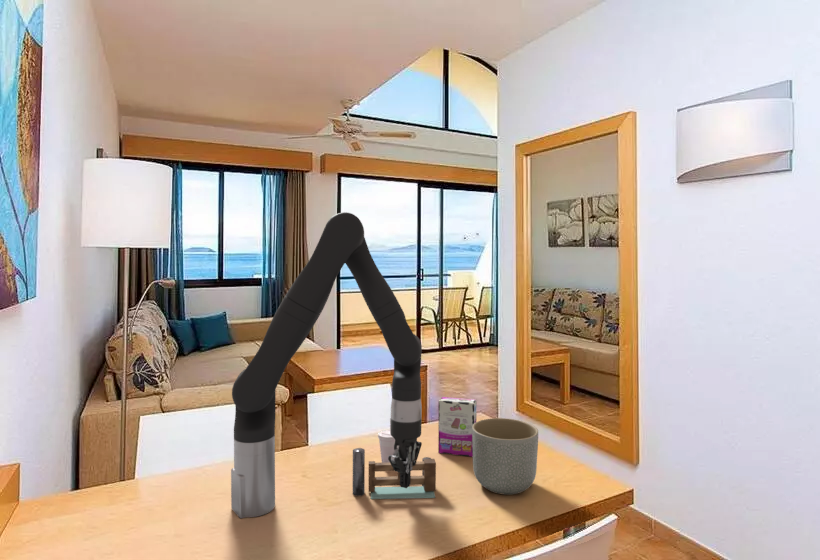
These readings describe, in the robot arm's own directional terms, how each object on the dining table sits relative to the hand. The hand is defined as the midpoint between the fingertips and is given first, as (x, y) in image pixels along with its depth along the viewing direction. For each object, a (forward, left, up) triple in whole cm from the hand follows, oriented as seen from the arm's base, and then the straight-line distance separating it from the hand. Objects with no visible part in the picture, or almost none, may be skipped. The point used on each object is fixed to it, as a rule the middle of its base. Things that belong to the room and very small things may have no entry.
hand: (405, 486), depth 122 cm
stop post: (+10, +3, -4) cm, 11 cm away
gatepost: (-7, +10, -4) cm, 13 cm away
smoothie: (+9, +19, -4) cm, 21 cm away
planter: (+26, -9, -4) cm, 28 cm away
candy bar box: (+32, +15, -4) cm, 35 cm away
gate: (+2, +4, -3) cm, 6 cm away
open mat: (+2, +4, -4) cm, 6 cm away
